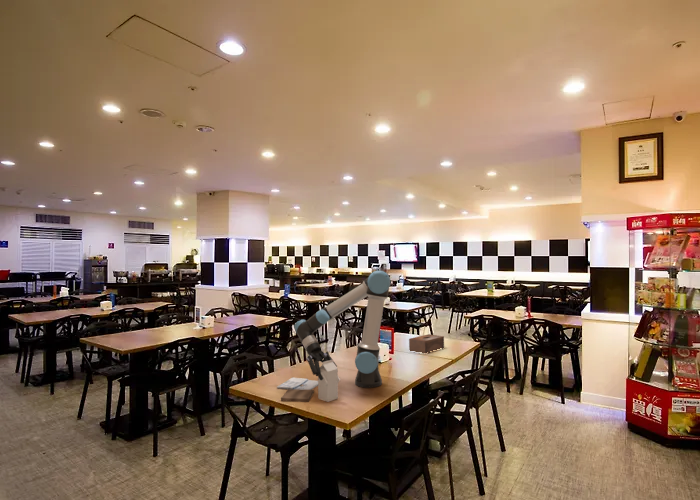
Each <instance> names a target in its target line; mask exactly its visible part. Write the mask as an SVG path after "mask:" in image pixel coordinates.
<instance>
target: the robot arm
mask: <svg viewBox="0 0 700 500" xmlns="http://www.w3.org/2000/svg"><path fill="white" fill-rule="evenodd" d="M390 287H391V277H390V275H389V274H388V273H387V272H386V271H384V270H374V271H372V272H371V273H370V274H369V276H368V277H367V278H366V279H364V280H363V281H362V283H361V284H360V285H358V286H356V287H355V288H353V289H352V290H350V291H348V292H347V293H345V294H344V295H342V296H340V297H339V298H338V299H336V300H334V301H333V302H331V303H329V304H328V305H326V306H325V307H323V308H321V309H320V310H318V311H317V312H316V313H314V314H313V315H312V316H311V317H309V318H308V319H307V320H306V319H300V320H298V321H297V322H295V323H294V325H293V328H294V330H295V333H296V335H297V336H298V338H299V340H300V341H301V344H302V345H303V347H304V349H305V351H306V353H307V354H308V356H307V357H305V358H306V359H305V360H306V362H307V363H308V365H309V368H310V370H311V373H312V375H313V376H315V377H317V378H318V377H319V379H320V380H321V381H322V383H323V385H324V386H327V384H328V382H327V380H326V378H325V376H324V374H323V373H322V372H321V373H320V367H321V365H320V363H322V364H323V362H325V361H329V360H333V358H332V357H331V356H330V354H329V351H326V352H324V351H323V350H322V347H321V345H320V343H319V342H318V339H317V338H316V336H315V335H314V333H315V332H317V330H319V329H320V328H322V327H323V326H325V325H326V324H328V322H330V321H331V320H332V319H333V318H336V317H337V316H338V315H340V314H342V313H343V312H344V311H346V310H348V309H349V308H351V307H352V306H354V305H356V304H358V303H360V301H362V300H364V299H365V298H367V297H368V299H367V304H366V311H365V318H364V325H363V331H362V336H361V342H359V343H358V344H357V346H356V347H357V350H356V357H355V358H354V359H355V360H354V365H355V367H356V369H357V372H356V375H355V380H354V385H355V386H356V387H357V386H358V387H360V388H365V389H366V388H370V389H371V388H377V387H381V386H382V384H383V381H382V380H383V379H382V376H381V374H380V373H381V372H380V369H379V357H380V347H379V344H378V343H379V337H380V330H381V325H382V318H383V312H384V306H385V305H384V304H385V301H386V299H388V297H389V292H390ZM333 363H334V364H335V365H336V367H337V368H338V365H337V363H335V361H334V360H333ZM340 381H341V378H340V377H339V375H338V383H339V382H340Z"/></svg>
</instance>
